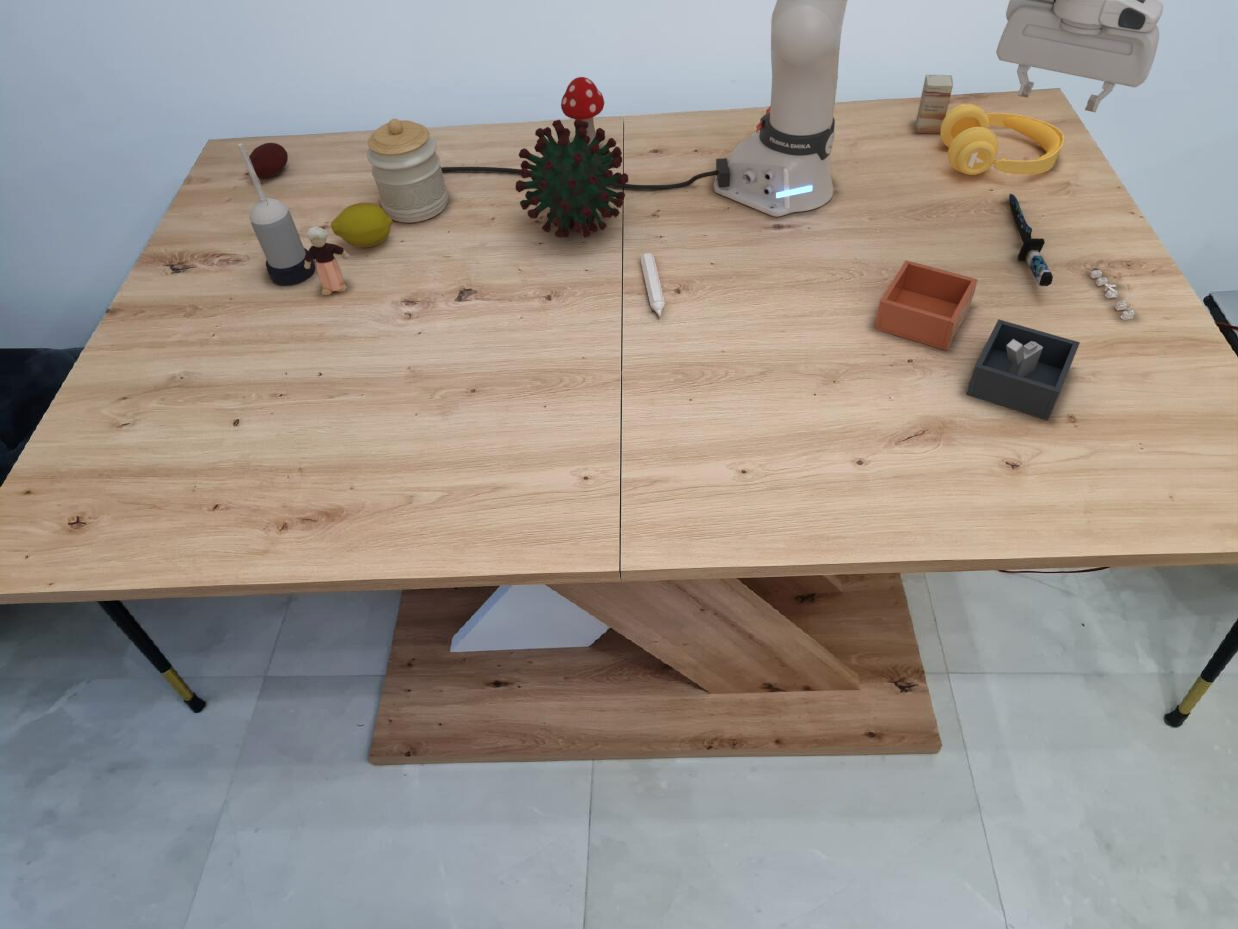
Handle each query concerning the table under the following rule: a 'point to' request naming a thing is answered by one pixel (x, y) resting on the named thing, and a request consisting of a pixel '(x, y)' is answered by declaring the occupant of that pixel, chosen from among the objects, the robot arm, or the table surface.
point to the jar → (407, 171)
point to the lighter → (1023, 357)
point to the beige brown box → (933, 103)
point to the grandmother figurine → (325, 261)
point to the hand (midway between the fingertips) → (1057, 102)
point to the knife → (1030, 246)
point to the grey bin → (1034, 388)
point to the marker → (652, 283)
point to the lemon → (362, 225)
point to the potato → (268, 159)
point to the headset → (995, 141)
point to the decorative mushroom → (583, 102)
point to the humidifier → (277, 236)
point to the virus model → (572, 179)
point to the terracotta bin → (925, 304)
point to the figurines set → (1113, 295)
